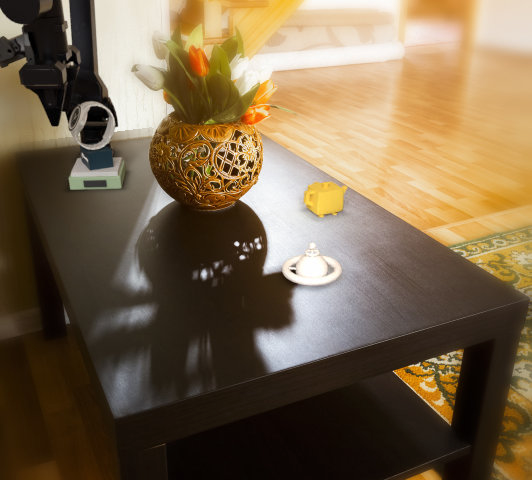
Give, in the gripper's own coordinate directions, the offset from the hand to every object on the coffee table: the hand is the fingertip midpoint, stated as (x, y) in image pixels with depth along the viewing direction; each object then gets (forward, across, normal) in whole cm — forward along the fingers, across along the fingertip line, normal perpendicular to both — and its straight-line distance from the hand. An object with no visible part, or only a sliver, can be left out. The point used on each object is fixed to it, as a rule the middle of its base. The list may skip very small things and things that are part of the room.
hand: (60, 118), depth 104 cm
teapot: (+13, +11, +43) cm, 46 cm away
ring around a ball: (+13, +35, +37) cm, 53 cm away
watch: (+10, -6, +4) cm, 13 cm away
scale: (+13, -6, +4) cm, 15 cm away
